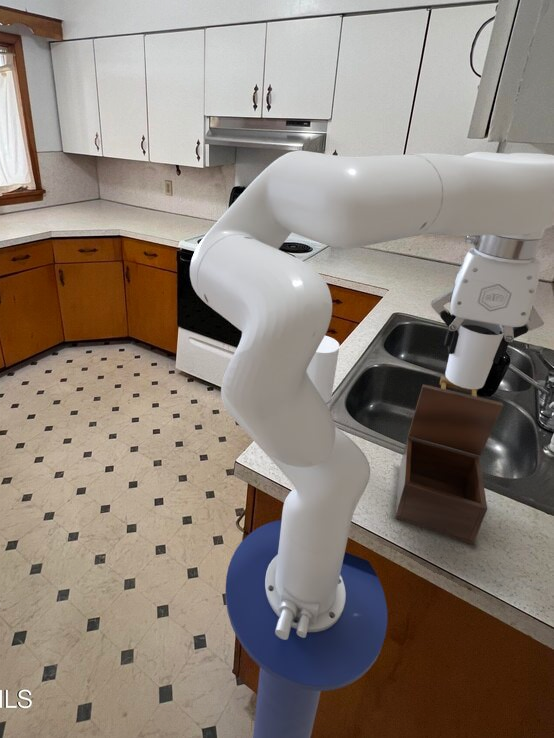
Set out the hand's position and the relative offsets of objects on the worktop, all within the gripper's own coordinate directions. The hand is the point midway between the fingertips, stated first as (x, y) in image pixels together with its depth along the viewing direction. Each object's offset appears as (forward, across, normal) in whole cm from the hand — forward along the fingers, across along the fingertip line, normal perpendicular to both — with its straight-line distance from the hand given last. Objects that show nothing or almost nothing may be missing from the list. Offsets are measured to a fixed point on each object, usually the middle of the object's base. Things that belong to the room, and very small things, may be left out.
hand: (471, 353), depth 68 cm
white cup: (+5, 0, 0) cm, 5 cm away
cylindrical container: (+32, -24, +5) cm, 41 cm away
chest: (+32, +1, -1) cm, 32 cm away
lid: (+16, +1, +3) cm, 17 cm away
